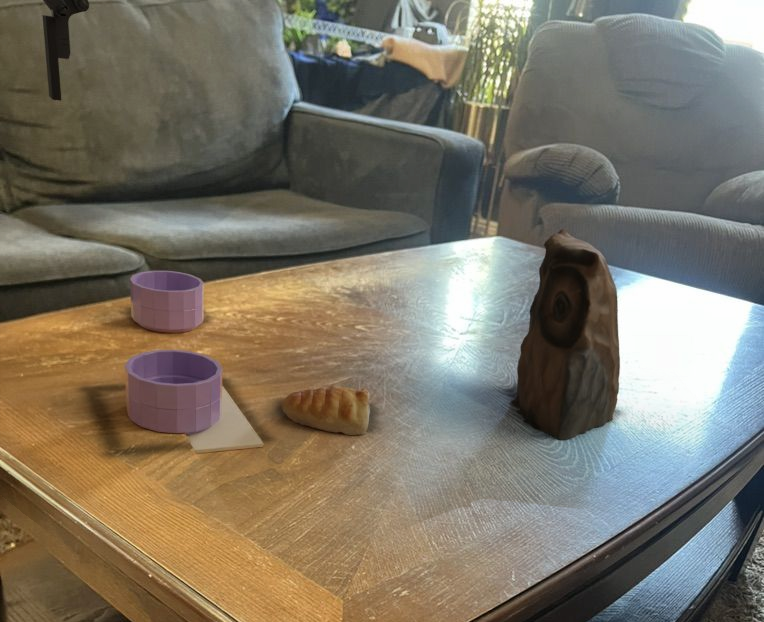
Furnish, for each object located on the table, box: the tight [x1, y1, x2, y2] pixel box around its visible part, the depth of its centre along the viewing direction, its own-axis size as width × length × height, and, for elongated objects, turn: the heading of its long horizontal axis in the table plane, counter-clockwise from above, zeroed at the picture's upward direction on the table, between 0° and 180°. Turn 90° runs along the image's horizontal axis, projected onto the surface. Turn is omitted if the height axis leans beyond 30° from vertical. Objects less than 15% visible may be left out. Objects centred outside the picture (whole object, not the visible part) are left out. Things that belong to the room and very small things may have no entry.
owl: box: [510, 228, 621, 441], centre depth 87 cm, size 13×13×20 cm
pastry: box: [281, 384, 371, 436], centre depth 82 cm, size 9×7×4 cm
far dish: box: [129, 270, 205, 334], centre depth 101 cm, size 9×9×6 cm
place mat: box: [185, 385, 265, 454], centre depth 78 cm, size 14×14×1 cm
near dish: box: [124, 349, 223, 436], centre depth 77 cm, size 9×9×6 cm
